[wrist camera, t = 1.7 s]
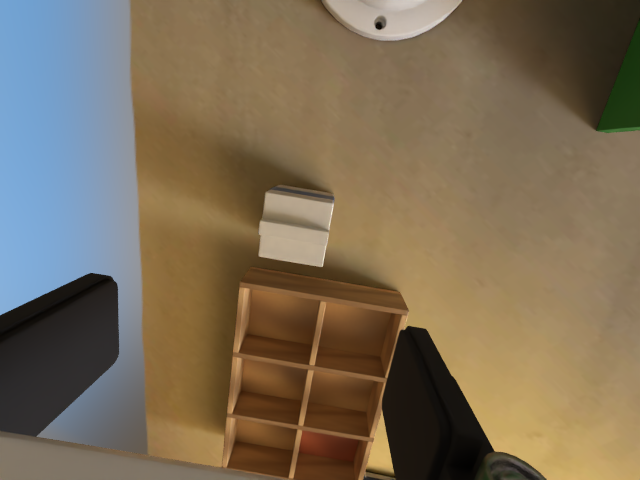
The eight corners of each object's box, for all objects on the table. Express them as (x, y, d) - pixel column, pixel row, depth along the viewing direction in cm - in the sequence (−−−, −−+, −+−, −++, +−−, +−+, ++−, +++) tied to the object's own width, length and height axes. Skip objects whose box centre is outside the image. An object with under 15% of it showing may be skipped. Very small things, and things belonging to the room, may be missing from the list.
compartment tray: (251, 266, 28) (239, 281, 25) (400, 291, 28) (409, 310, 25) (232, 438, 34) (221, 470, 31) (356, 459, 34) (359, 494, 31)
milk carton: (278, 183, 26) (262, 192, 20) (334, 193, 26) (334, 204, 20) (272, 237, 27) (254, 260, 22) (325, 246, 27) (322, 271, 21)
